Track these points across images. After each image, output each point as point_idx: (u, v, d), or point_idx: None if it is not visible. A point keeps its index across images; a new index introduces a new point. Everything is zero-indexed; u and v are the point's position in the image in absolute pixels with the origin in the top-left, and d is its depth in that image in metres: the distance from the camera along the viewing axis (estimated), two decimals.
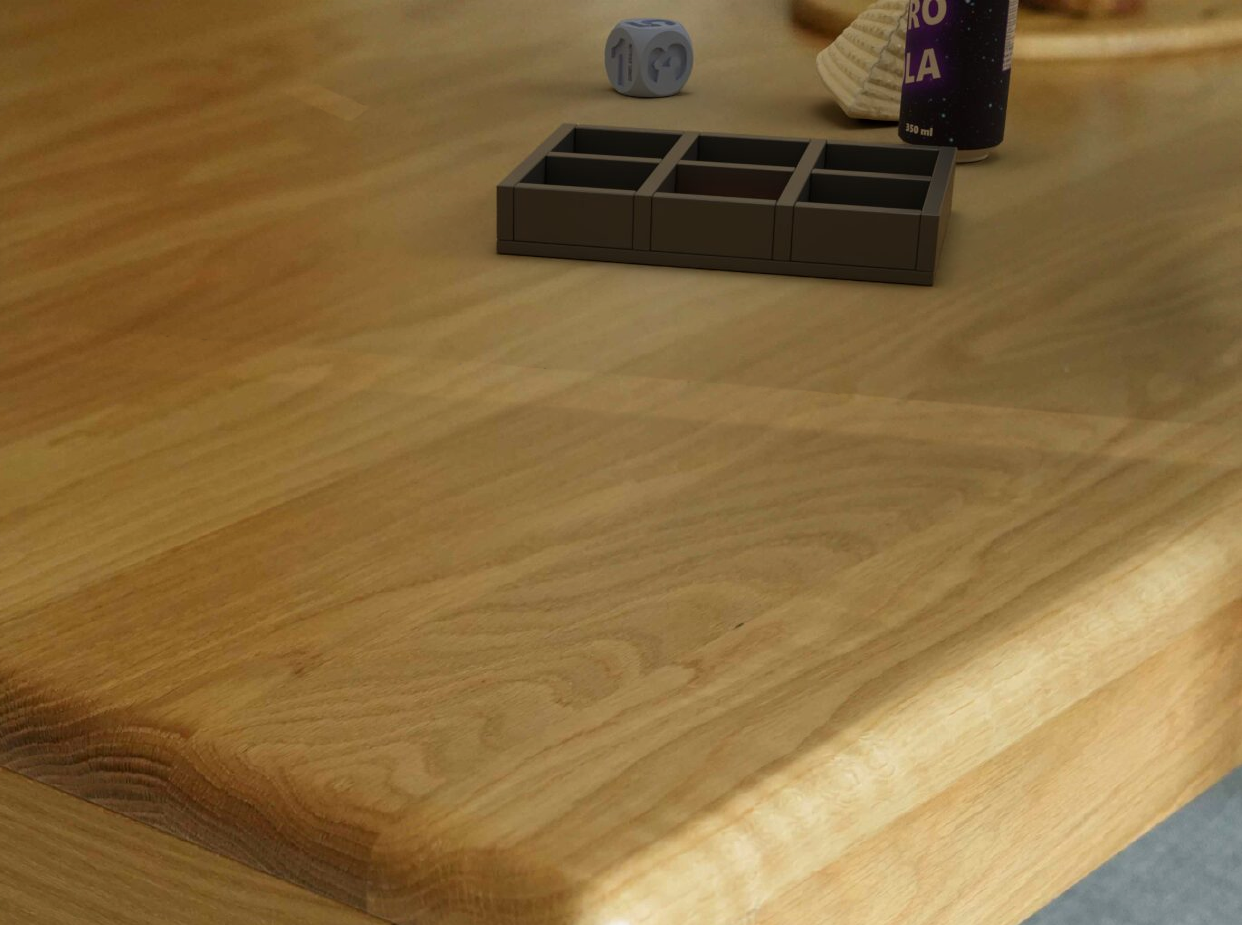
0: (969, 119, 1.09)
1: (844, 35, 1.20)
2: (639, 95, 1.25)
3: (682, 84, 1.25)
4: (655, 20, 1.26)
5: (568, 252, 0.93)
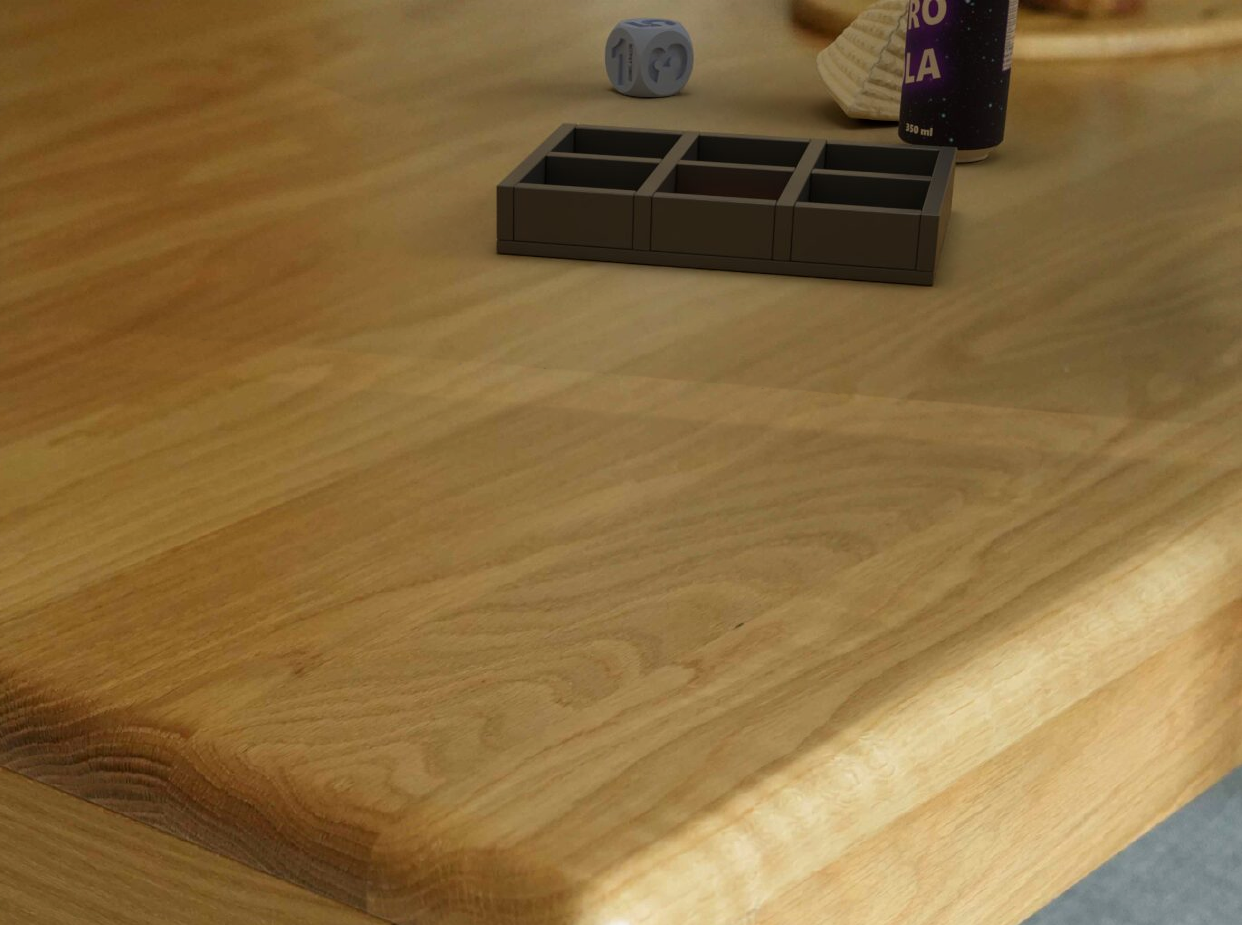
0: (969, 119, 1.09)
1: (844, 35, 1.20)
2: (639, 95, 1.25)
3: (682, 84, 1.25)
4: (655, 20, 1.26)
5: (568, 252, 0.93)
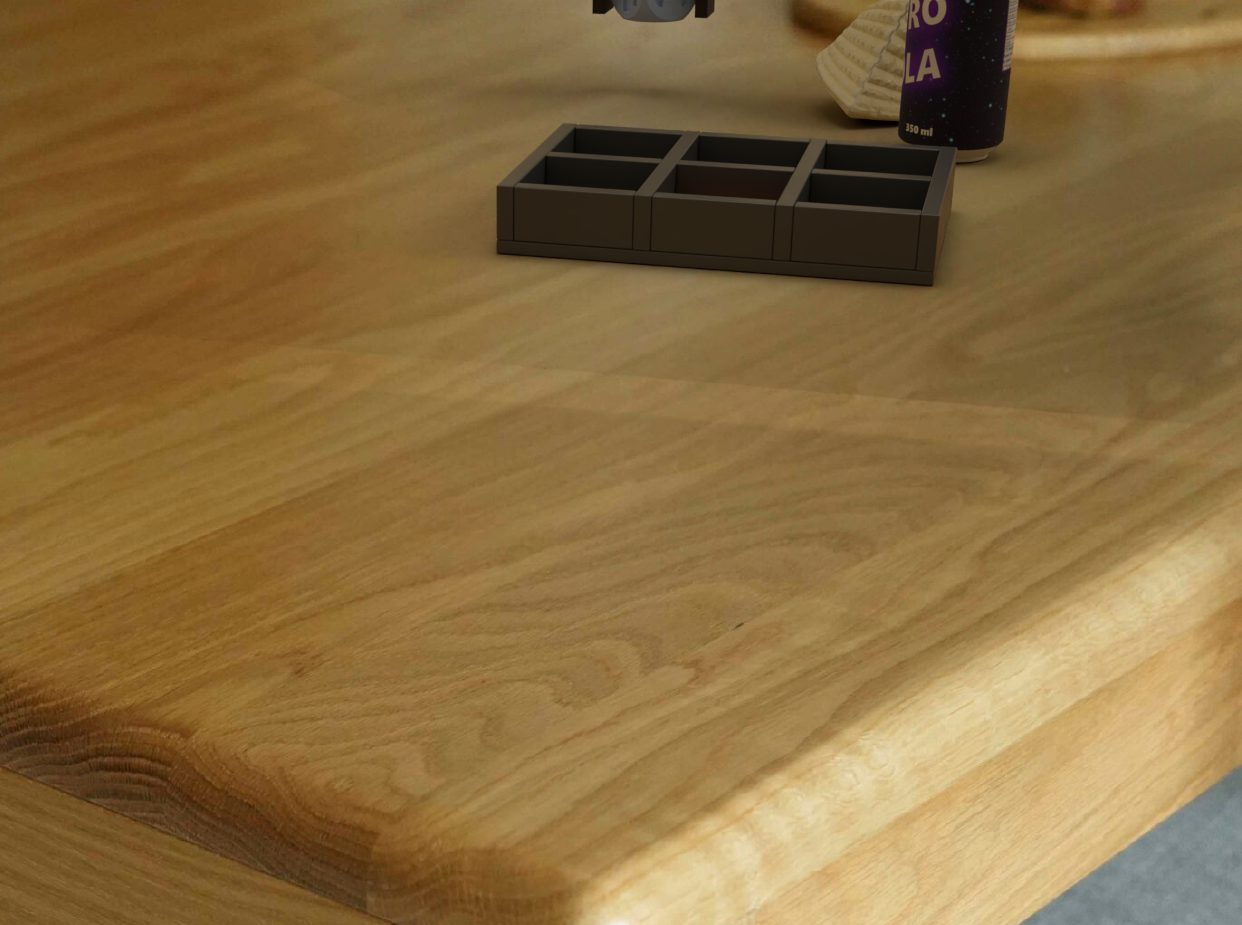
0: (969, 119, 1.09)
1: (844, 35, 1.20)
2: (644, 20, 1.23)
3: (688, 9, 1.23)
4: None
5: (568, 252, 0.93)
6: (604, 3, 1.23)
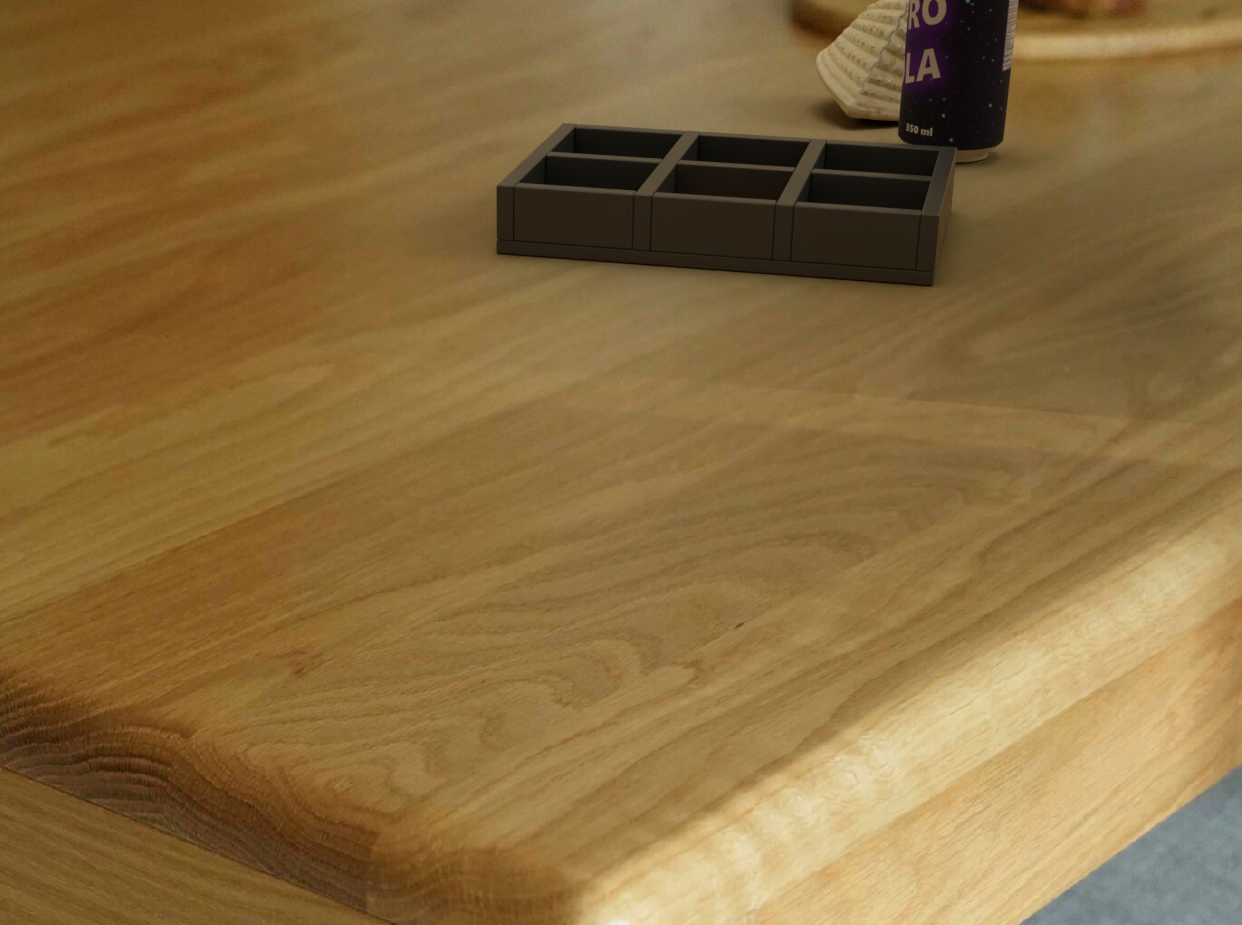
0: (969, 119, 1.09)
1: (844, 35, 1.20)
2: None
3: None
4: None
5: (568, 252, 0.93)
6: None
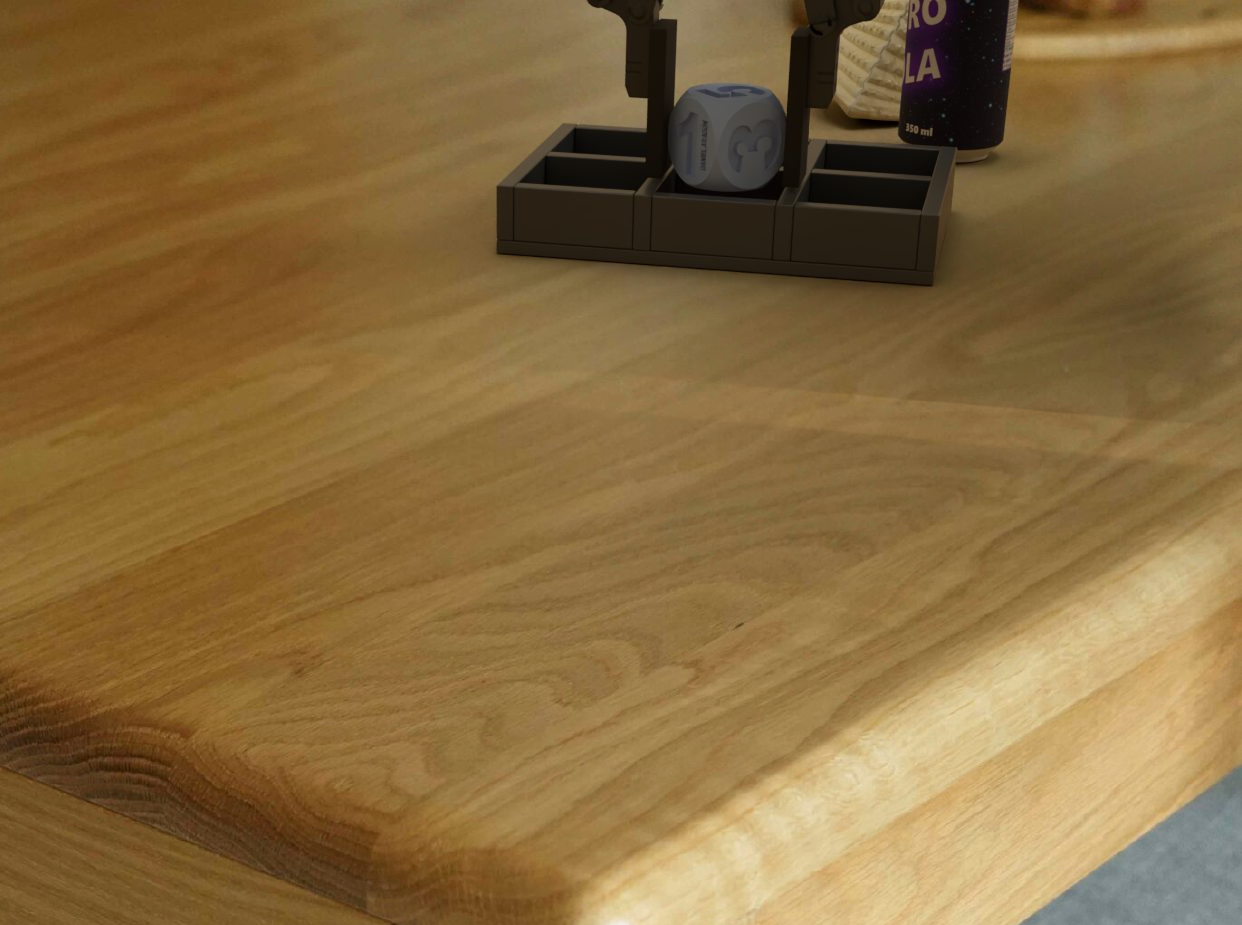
0: (969, 119, 1.09)
1: (844, 35, 1.20)
2: (715, 189, 0.92)
3: (773, 174, 0.92)
4: (736, 86, 0.93)
5: (568, 252, 0.93)
6: (661, 164, 0.93)
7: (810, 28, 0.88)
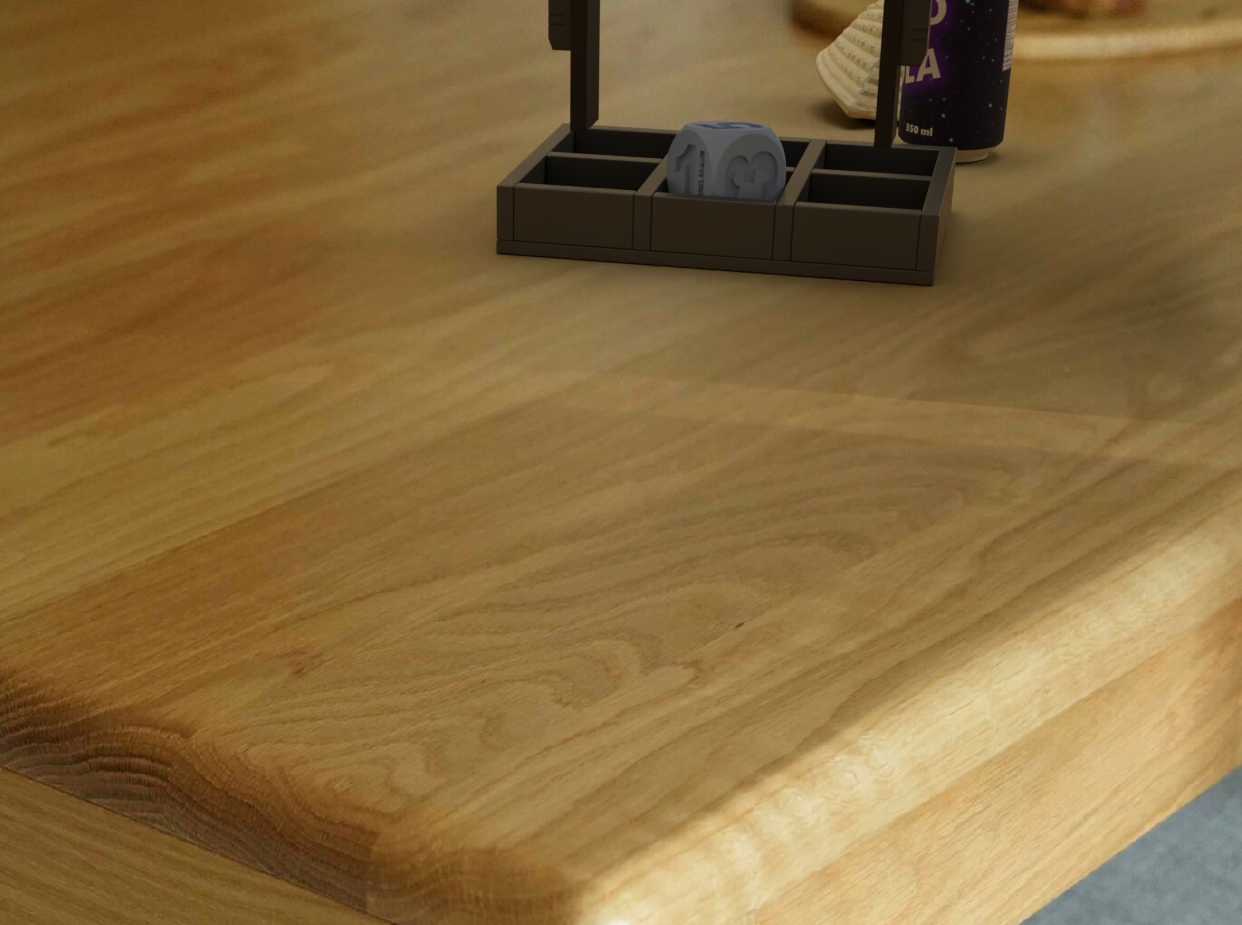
0: (969, 119, 1.09)
1: (844, 35, 1.20)
2: None
3: None
4: (735, 123, 0.94)
5: (568, 252, 0.93)
6: (586, 117, 0.93)
7: None
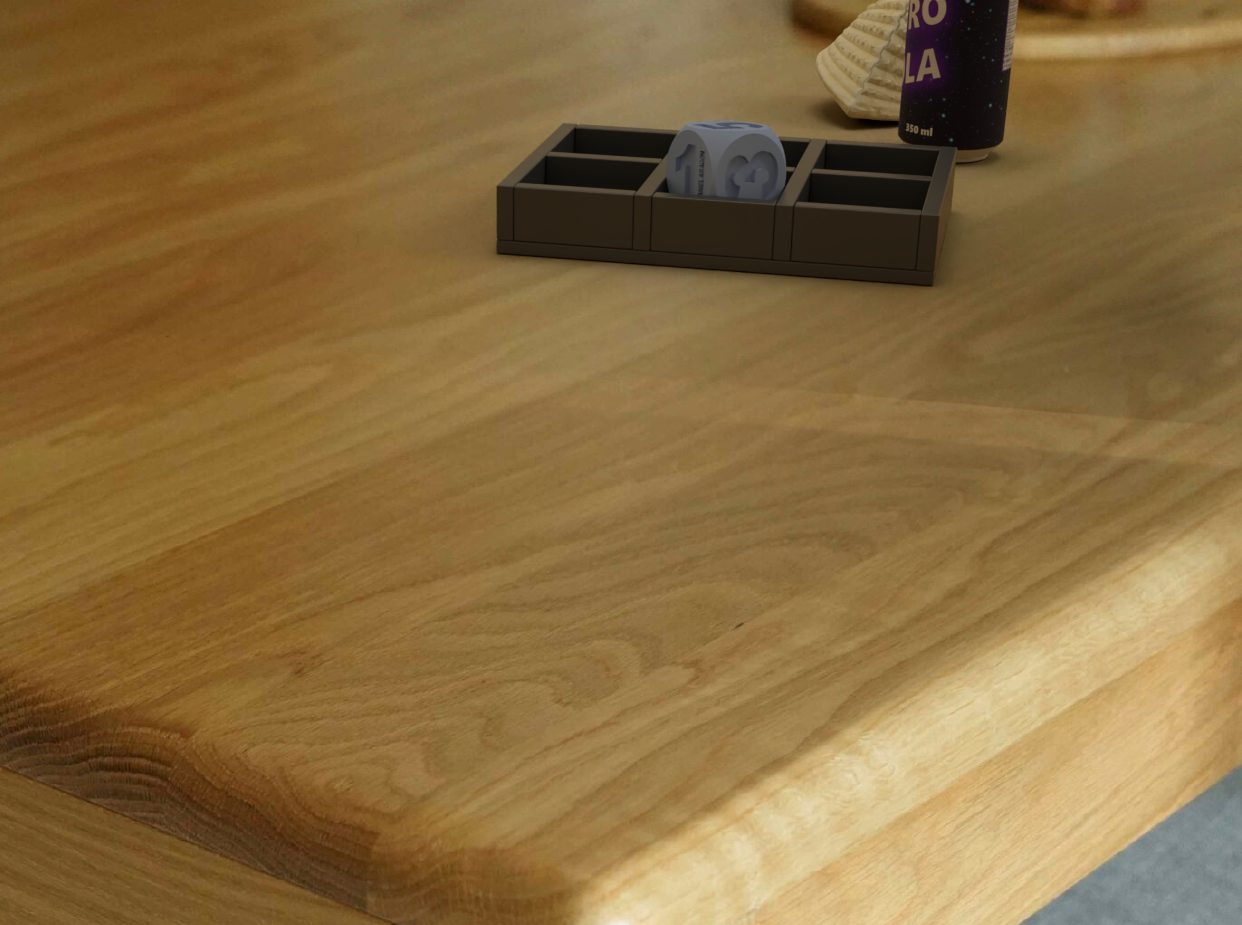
0: (969, 119, 1.09)
1: (844, 35, 1.20)
2: None
3: None
4: (735, 123, 0.94)
5: (568, 252, 0.93)
6: None
7: None
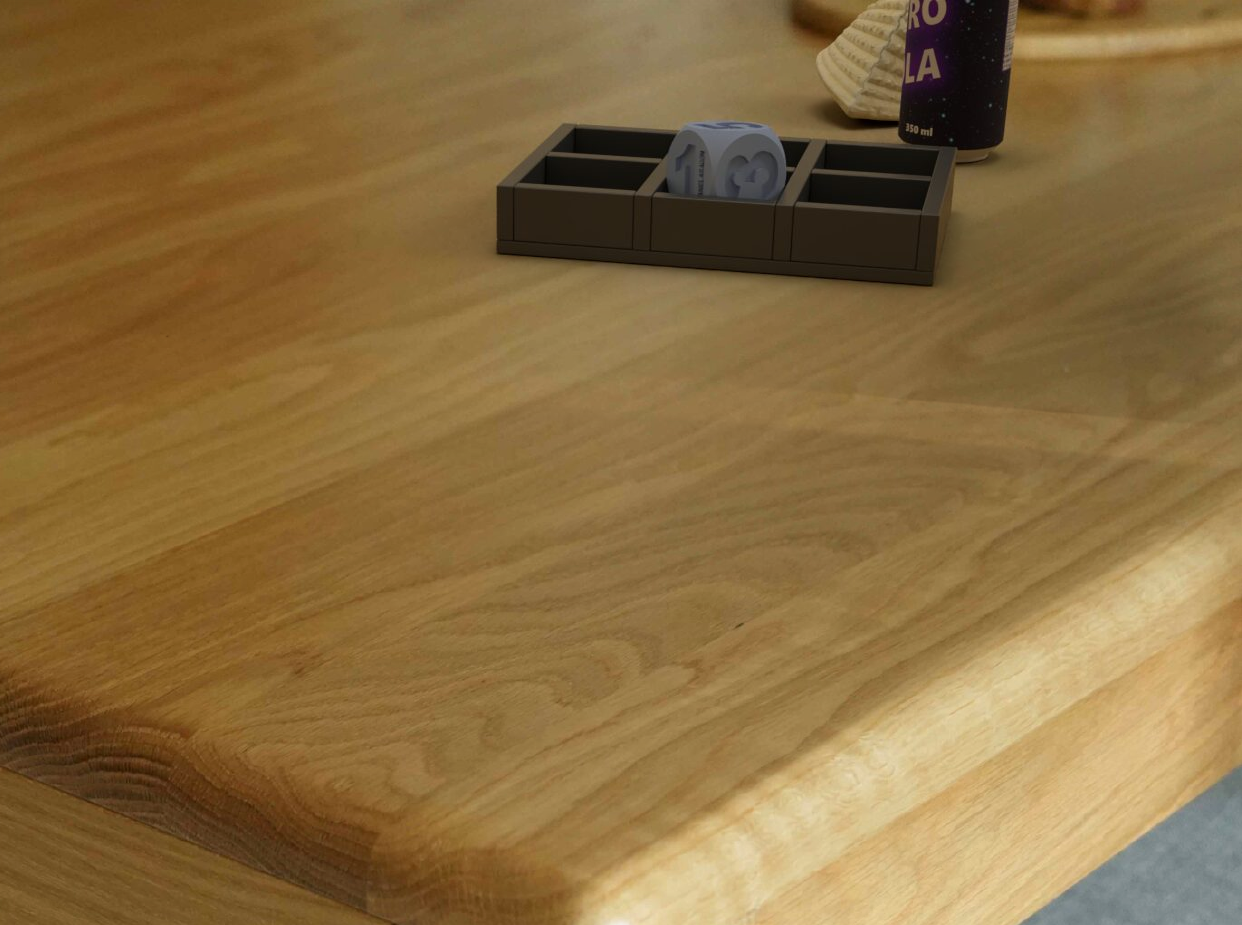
0: (969, 119, 1.09)
1: (844, 35, 1.20)
2: None
3: None
4: (735, 123, 0.94)
5: (568, 252, 0.93)
6: None
7: None
